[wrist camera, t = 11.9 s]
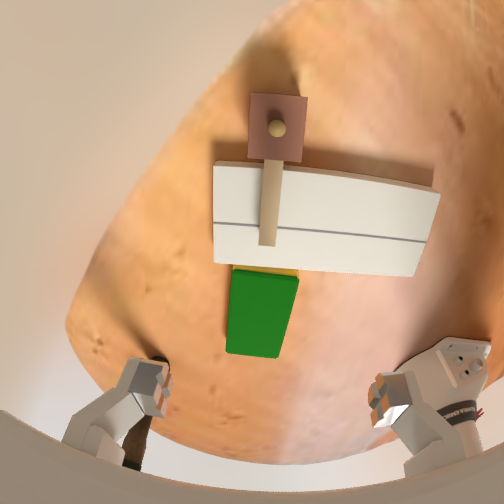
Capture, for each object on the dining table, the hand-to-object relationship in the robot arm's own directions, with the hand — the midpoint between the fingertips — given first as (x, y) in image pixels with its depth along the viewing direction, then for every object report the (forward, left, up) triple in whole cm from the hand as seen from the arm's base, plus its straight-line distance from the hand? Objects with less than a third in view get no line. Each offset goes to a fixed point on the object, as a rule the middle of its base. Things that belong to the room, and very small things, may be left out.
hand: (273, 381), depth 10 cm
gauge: (0, -3, -20) cm, 20 cm away
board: (-6, +2, -20) cm, 21 cm away
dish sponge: (+1, +15, -21) cm, 26 cm away
